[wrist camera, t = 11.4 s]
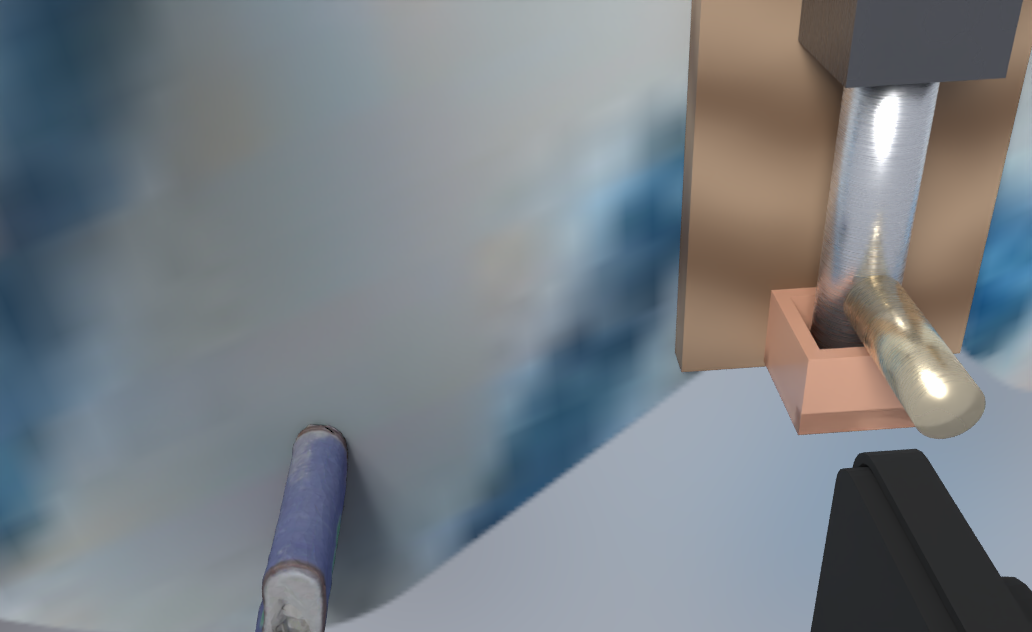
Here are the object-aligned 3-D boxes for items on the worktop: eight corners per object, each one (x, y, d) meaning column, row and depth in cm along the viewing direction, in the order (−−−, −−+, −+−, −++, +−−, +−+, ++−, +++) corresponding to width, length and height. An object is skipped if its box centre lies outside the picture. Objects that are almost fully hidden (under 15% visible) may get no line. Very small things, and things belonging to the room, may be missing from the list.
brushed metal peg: (843, -15, 33) (969, 78, 25) (932, -20, 33) (1088, 71, 25) (796, 351, 40) (881, 512, 32) (868, 346, 41) (970, 506, 33)
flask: (297, 416, 44) (257, 603, 35) (362, 428, 45) (339, 615, 36) (268, 560, 49) (226, 758, 40) (327, 569, 49) (298, 766, 40)
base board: (703, -251, 31) (714, -248, 30) (1079, -272, 31) (1106, -271, 30) (674, 352, 43) (681, 372, 42) (945, 334, 44) (960, 353, 42)
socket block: (771, 290, 40) (808, 359, 36) (893, 281, 40) (944, 350, 36) (763, 360, 42) (798, 435, 38) (880, 353, 42) (927, 426, 38)
